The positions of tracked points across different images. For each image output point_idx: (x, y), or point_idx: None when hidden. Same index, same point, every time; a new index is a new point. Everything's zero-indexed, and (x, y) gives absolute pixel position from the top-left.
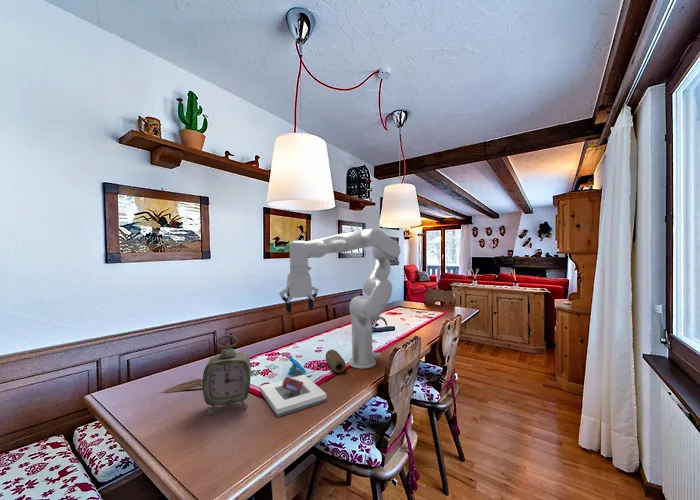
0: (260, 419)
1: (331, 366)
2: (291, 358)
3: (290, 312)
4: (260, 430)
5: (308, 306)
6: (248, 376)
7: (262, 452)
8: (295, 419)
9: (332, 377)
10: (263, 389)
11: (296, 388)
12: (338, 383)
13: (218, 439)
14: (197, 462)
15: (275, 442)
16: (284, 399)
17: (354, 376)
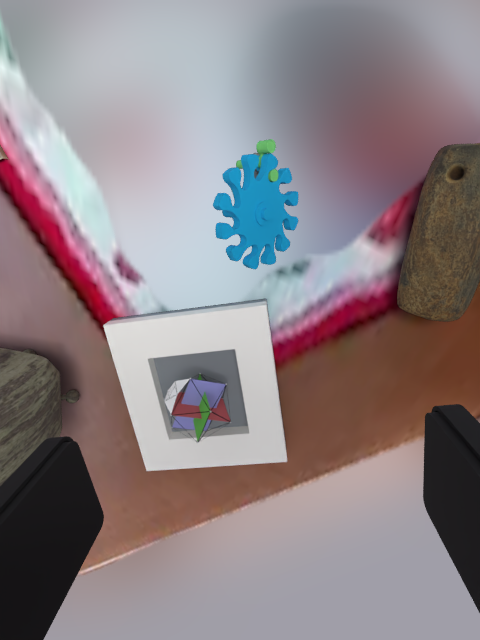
0: (115, 448)
1: (399, 287)
2: (232, 210)
3: (95, 520)
4: (115, 482)
5: (445, 450)
6: None
7: (119, 536)
8: (190, 481)
9: (371, 320)
10: (114, 355)
11: (204, 433)
12: (366, 372)
13: None
14: None
15: (142, 524)
16: None
17: (449, 349)
